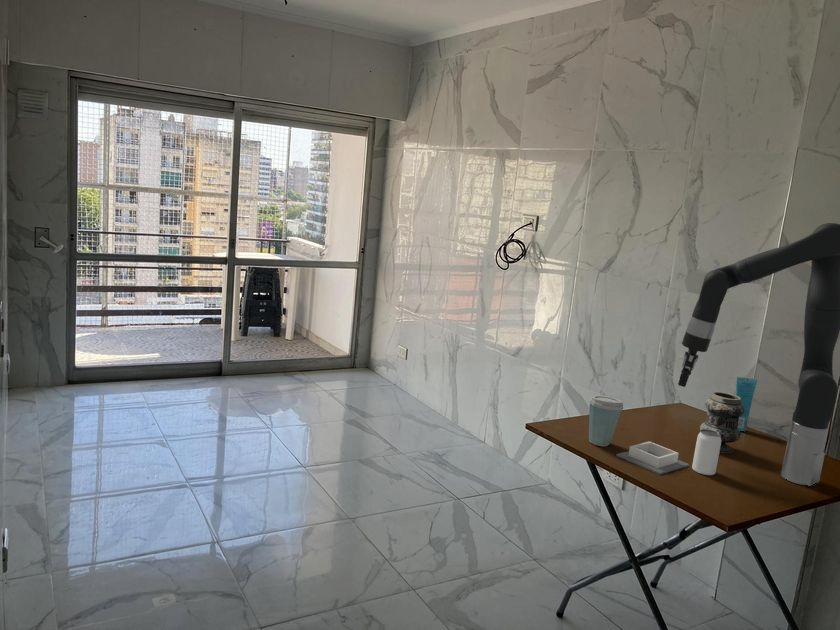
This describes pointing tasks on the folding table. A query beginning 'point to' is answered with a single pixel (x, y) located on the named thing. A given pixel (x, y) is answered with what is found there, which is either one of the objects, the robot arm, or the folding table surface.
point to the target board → (653, 458)
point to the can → (706, 452)
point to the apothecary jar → (724, 418)
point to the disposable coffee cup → (603, 419)
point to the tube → (745, 398)
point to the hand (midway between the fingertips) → (682, 382)
